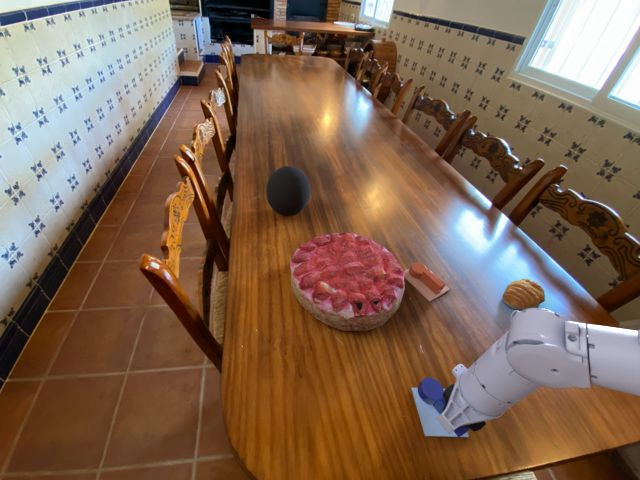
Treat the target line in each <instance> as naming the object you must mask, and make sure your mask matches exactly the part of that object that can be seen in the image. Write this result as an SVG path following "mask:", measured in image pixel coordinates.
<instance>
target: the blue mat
mask: <svg viewBox="0 0 640 480" xmlns="http://www.w3.org/2000/svg"><path fill="white" fill-rule="evenodd" d="M410 389H411V393H412V397H413V400H414V404H415V406H416V411H417V415H418V417H419V421H420V423H421V424H420V425H421V428H422V430H423V434H424V437H427V438H431V437H432V438H462V439H463V438H465V439H467V438H470V436H469V433H468V432H466V433H465V434H463V435H462V436H460V437H458V436H457V435H456V434H455V432H454V431H452V432H451V433H450V434H448V433H447V432H446V430H445V429H444V428H443V427H442V426H441V424H440V423H439V422H438V420H437V419H436V418H437V417H438V416H440V414H439V413H438V412H437V410H436V409H435V408H434V407H433V405H429V404H427V403H425V402H424V401H423V400H422V399H421V398H420V396H419V394H418V387H411V388H410ZM445 389H446V388H443V390H445Z"/></svg>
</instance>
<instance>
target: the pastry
mask: <svg viewBox="0 0 640 480" xmlns="http://www.w3.org/2000/svg"><path fill="white" fill-rule="evenodd" d="M502 301H503V302H504V303H505V304H506V305H507V306H509V307H510V308H512V309H514V310H517V311H523V310H525V309H529V308H538V306H539V305H541V304H543V303H545V302H546V295H545V290H544V288H543V287H542V286H541V285H540V284H539V283H538V282H536V281H532V280H530V279H529V278H521V279H518V280H514V281H512V282H510V283H509V284H508V285H507V286H506V288H505V291H503V294H502Z"/></svg>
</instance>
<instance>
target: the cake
mask: <svg viewBox="0 0 640 480" xmlns="http://www.w3.org/2000/svg"><path fill="white" fill-rule="evenodd" d="M289 265H290V286H291V290H292V292H293V294H294V297H295V298H296V299H297V300H298V302H299V303H300V305H301V307H303V308H304V309H305V310H306V311H307V312H308V313H309V314H311V316H313V317H314V318H315V319H317V320H318V321H319V322H321V323H322V324H325V325H327V326H330V327H332V328H335V329H338V330H341V331H350V332H351V331H352V332H353V331H354V332H363V331H364V332H365V331H370V330H373V329H376V328H378V327H381V326H383V325H384V324H385V323H386V322H387V321H388V320H389V319H390V318H391V317H392V316H393V315H394V314H395V313H396V312H397V311H398V310H399V308H400V306H401V304H402V303H401V302H402V299H403V296H404V293H405V290H406V288H405V287H406V286H405V278H404V271H405V270H404V268H403V267H402V265H401V264H400V263H399V261H398V260H397V258H396V257H395V255H394V253H393V252H392V251H389V250H388V249H386V247H384V246H383V245H381V244H379V243H377V242H376V241H374V240H373V239H372V238H371V237H370V236H366V235H359V234H356V233H353V232H342V233H339V232H335V231H334V232H332V233H330V234H319V235H317V236H314V237H313V238H312V239H310V240H309V241H308V242H307V243H304V244H300V245H299V246H298V247H297V248H296V250H295V252H294V254H293V256H292V257H291V259H290V260H289Z"/></svg>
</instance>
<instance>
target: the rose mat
mask: <svg viewBox="0 0 640 480" xmlns="http://www.w3.org/2000/svg"><path fill="white" fill-rule="evenodd" d="M409 269H410V267H409V268H407V269H405V270H404V280H406V281H407V283H408V284H410V285H411V286H412V287H413V288H414V289H415V290H416V291H417V292H418V293H419V294H420V295H421V296H422V297H423V298H424V299H425V300H427V301H428V303H431V302H433V301H434V300H436V299H437V298H439V297H441V296H442V295H444V294H446V293H447V292H449V291H450V288H449V287H448V286H446V285H445V286H444V288H443V289H442V291H441V292H440V293H438V294H437V295H435V294H434V293H433V292H432V291H431V290H430V289H429V288H428V287H427V286H426V285H425V284H424V283H422V282H421V281H420V280H419V279H416V278H414V277H412V276H411V275H410V274H409Z"/></svg>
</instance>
